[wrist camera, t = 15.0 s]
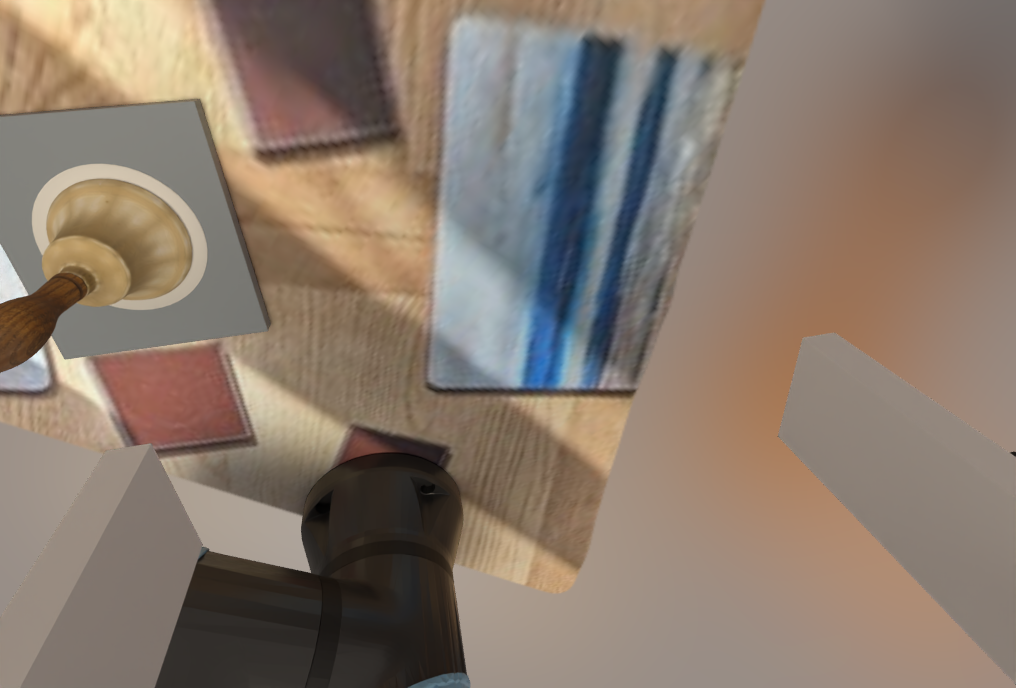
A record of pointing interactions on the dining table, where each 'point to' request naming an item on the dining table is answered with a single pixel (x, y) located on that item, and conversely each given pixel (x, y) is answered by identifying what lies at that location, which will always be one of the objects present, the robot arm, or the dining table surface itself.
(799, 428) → the robot arm
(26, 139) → the board
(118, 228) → the hand bell
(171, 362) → the dining table surface
